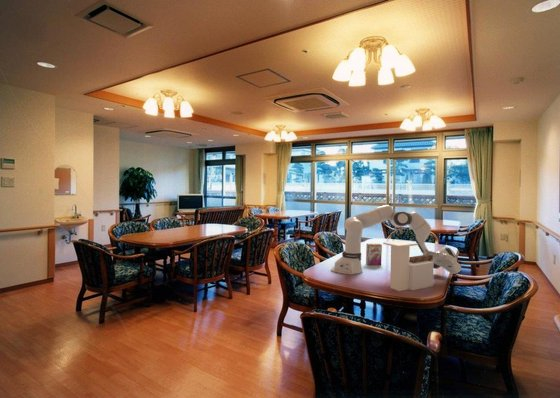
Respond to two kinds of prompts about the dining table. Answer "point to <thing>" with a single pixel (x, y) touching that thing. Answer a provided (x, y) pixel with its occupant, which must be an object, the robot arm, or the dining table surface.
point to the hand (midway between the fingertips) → (431, 251)
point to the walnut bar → (421, 258)
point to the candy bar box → (373, 254)
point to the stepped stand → (408, 268)
